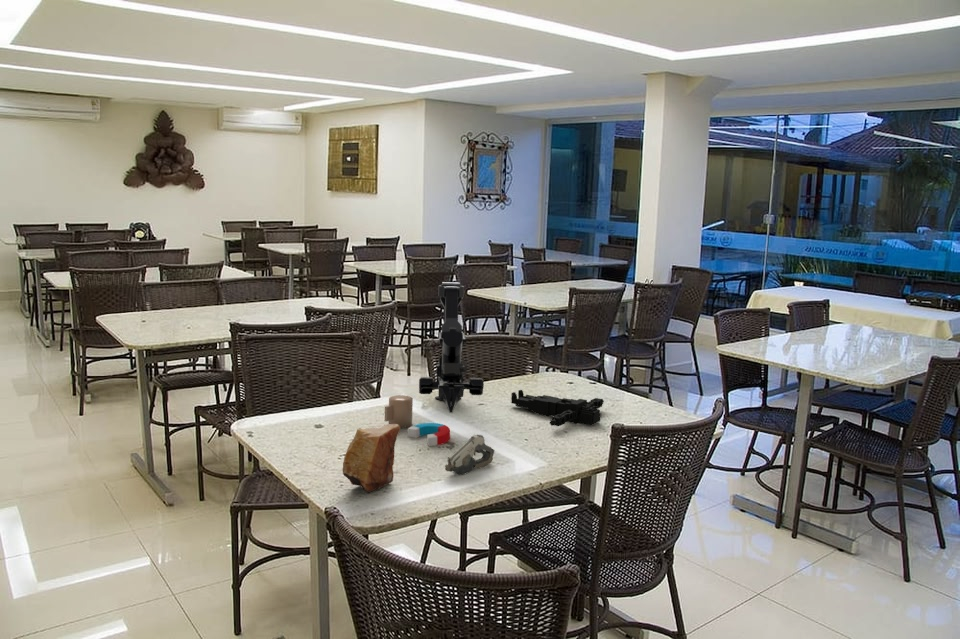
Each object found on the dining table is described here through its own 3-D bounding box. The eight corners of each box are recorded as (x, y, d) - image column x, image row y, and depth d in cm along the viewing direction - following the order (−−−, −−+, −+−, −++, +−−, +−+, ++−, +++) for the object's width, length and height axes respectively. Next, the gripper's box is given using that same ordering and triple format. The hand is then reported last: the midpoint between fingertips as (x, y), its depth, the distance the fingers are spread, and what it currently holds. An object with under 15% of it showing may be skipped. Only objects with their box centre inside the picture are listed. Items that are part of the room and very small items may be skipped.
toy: (541, 380, 253) (620, 394, 235) (541, 398, 254) (619, 413, 236) (488, 399, 228) (571, 416, 210) (488, 419, 229) (571, 438, 211)
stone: (387, 474, 181) (387, 416, 178) (407, 486, 174) (408, 426, 171) (335, 488, 172) (335, 427, 169) (354, 501, 165) (355, 438, 162)
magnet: (432, 428, 215) (405, 436, 209) (432, 419, 215) (405, 427, 208) (458, 439, 207) (430, 448, 200) (458, 430, 206) (430, 438, 200)
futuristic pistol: (452, 491, 184) (440, 462, 180) (490, 454, 192) (480, 425, 188) (459, 494, 183) (447, 465, 178) (497, 457, 191) (486, 427, 186)
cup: (377, 425, 216) (378, 399, 215) (401, 419, 223) (401, 393, 221) (393, 431, 212) (393, 405, 210) (416, 424, 218) (417, 399, 217)
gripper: (420, 350, 211) (418, 397, 202) (484, 351, 212) (485, 399, 203) (420, 369, 220) (418, 416, 211) (481, 371, 221) (482, 417, 212)
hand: (450, 412), depth 209 cm, fingers closed
